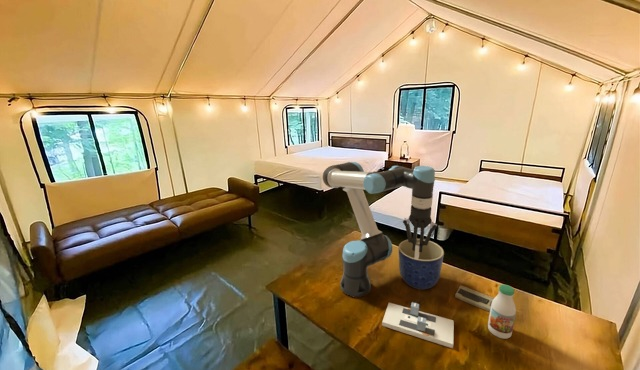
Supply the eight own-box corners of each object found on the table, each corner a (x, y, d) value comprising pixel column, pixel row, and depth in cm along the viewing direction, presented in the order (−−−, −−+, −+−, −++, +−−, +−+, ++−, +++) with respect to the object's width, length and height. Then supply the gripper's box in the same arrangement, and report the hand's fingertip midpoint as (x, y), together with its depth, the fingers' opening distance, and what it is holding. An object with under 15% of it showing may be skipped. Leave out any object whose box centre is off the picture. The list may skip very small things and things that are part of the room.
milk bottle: (483, 324, 105) (489, 282, 99) (501, 322, 106) (508, 280, 100) (497, 340, 98) (505, 296, 92) (516, 338, 98) (525, 293, 92)
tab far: (410, 313, 109) (410, 305, 108) (411, 309, 111) (411, 301, 110) (418, 316, 108) (418, 307, 107) (418, 311, 110) (419, 303, 109)
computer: (454, 298, 120) (455, 292, 119) (460, 289, 126) (460, 283, 125) (494, 315, 110) (495, 309, 109) (498, 305, 115) (499, 298, 114)
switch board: (382, 325, 107) (382, 321, 106) (388, 306, 117) (388, 301, 117) (452, 348, 96) (453, 343, 95) (453, 324, 106) (453, 320, 105)
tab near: (416, 329, 102) (417, 320, 100) (417, 324, 104) (418, 315, 103) (425, 331, 100) (425, 322, 99) (425, 326, 102) (426, 318, 101)
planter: (439, 272, 138) (441, 240, 132) (442, 299, 119) (446, 263, 114) (398, 267, 145) (399, 236, 139) (396, 291, 126) (397, 257, 121)
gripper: (402, 206, 102) (398, 258, 109) (438, 212, 96) (432, 266, 103) (405, 200, 108) (402, 249, 115) (440, 204, 102) (434, 256, 109)
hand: (416, 257), depth 109 cm, fingers closed
